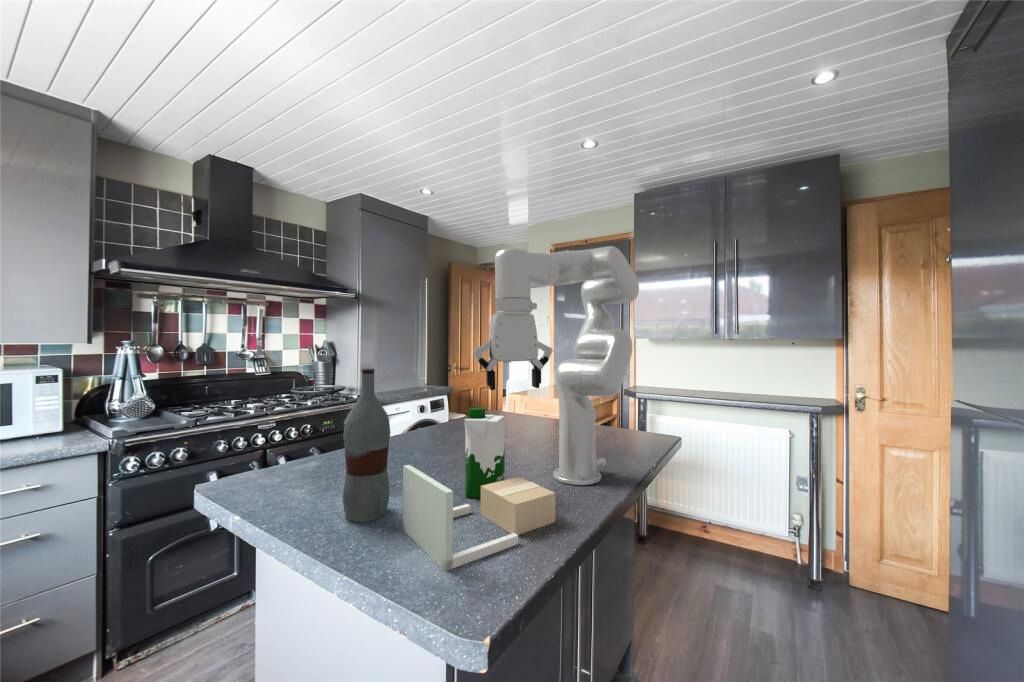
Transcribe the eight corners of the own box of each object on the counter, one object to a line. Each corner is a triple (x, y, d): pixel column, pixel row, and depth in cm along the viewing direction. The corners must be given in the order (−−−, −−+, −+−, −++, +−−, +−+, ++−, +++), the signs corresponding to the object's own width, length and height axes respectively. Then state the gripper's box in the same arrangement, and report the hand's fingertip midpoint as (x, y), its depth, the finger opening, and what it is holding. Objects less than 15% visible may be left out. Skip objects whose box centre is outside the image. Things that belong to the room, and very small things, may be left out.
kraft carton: (518, 503, 88) (518, 476, 88) (555, 523, 78) (555, 492, 78) (480, 514, 82) (480, 485, 82) (514, 537, 72) (515, 503, 72)
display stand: (467, 511, 83) (467, 453, 83) (518, 544, 69) (518, 475, 69) (402, 529, 75) (403, 465, 75) (445, 571, 61) (446, 492, 61)
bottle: (337, 511, 82) (338, 368, 83) (380, 501, 88) (382, 367, 89) (349, 527, 75) (351, 370, 76) (396, 515, 81) (398, 369, 81)
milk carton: (472, 485, 98) (472, 405, 99) (507, 488, 97) (507, 406, 97) (460, 498, 90) (461, 411, 90) (499, 502, 88) (499, 412, 88)
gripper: (545, 309, 90) (546, 384, 90) (470, 309, 86) (471, 388, 86) (557, 307, 83) (558, 388, 83) (475, 306, 78) (477, 392, 78)
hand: (514, 388), depth 84 cm, fingers open, 9 cm apart
